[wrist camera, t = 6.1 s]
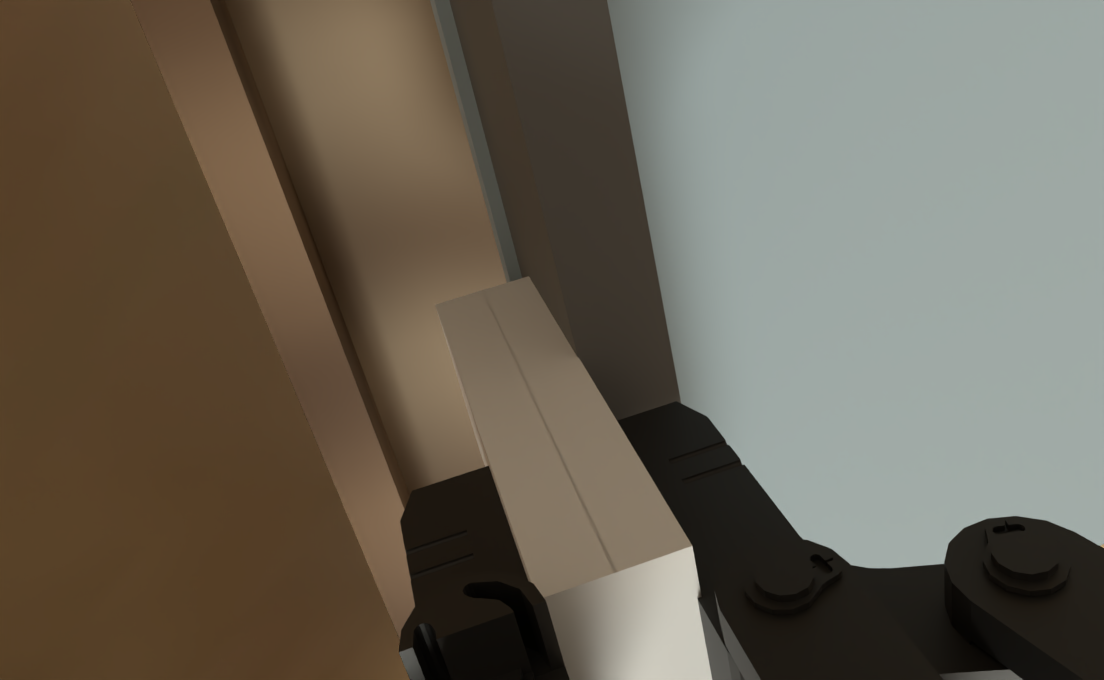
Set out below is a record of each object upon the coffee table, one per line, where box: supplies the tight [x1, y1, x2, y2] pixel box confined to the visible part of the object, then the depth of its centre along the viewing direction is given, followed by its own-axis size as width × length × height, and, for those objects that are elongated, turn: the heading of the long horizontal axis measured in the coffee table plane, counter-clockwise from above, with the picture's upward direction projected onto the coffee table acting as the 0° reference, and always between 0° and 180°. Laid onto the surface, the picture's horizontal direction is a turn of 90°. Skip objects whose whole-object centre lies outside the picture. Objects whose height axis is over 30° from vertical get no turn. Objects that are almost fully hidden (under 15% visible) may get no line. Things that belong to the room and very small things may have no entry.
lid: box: [430, 0, 1104, 568], centre depth 15 cm, size 19×18×4 cm
